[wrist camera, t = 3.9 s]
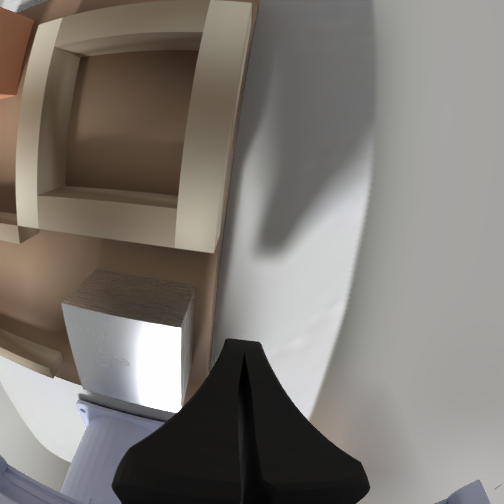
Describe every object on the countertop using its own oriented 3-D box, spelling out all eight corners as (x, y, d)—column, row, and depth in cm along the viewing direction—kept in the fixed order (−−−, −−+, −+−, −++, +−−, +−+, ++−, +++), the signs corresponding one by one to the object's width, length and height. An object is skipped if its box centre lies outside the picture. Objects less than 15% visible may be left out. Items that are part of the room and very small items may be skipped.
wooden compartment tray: (208, 384, 17) (200, 434, 13) (10, 331, 16) (-17, 360, 12) (259, 3, 10) (262, -42, 6) (4, 38, 9) (-36, 28, 5)
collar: (220, 234, 11) (214, 253, 9) (45, 212, 10) (17, 225, 9) (251, 25, 8) (251, 3, 6) (64, 36, 8) (38, 24, 6)
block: (191, 366, 13) (181, 413, 10) (106, 349, 13) (83, 389, 10) (195, 285, 12) (180, 328, 9) (96, 268, 11) (61, 303, 9)
